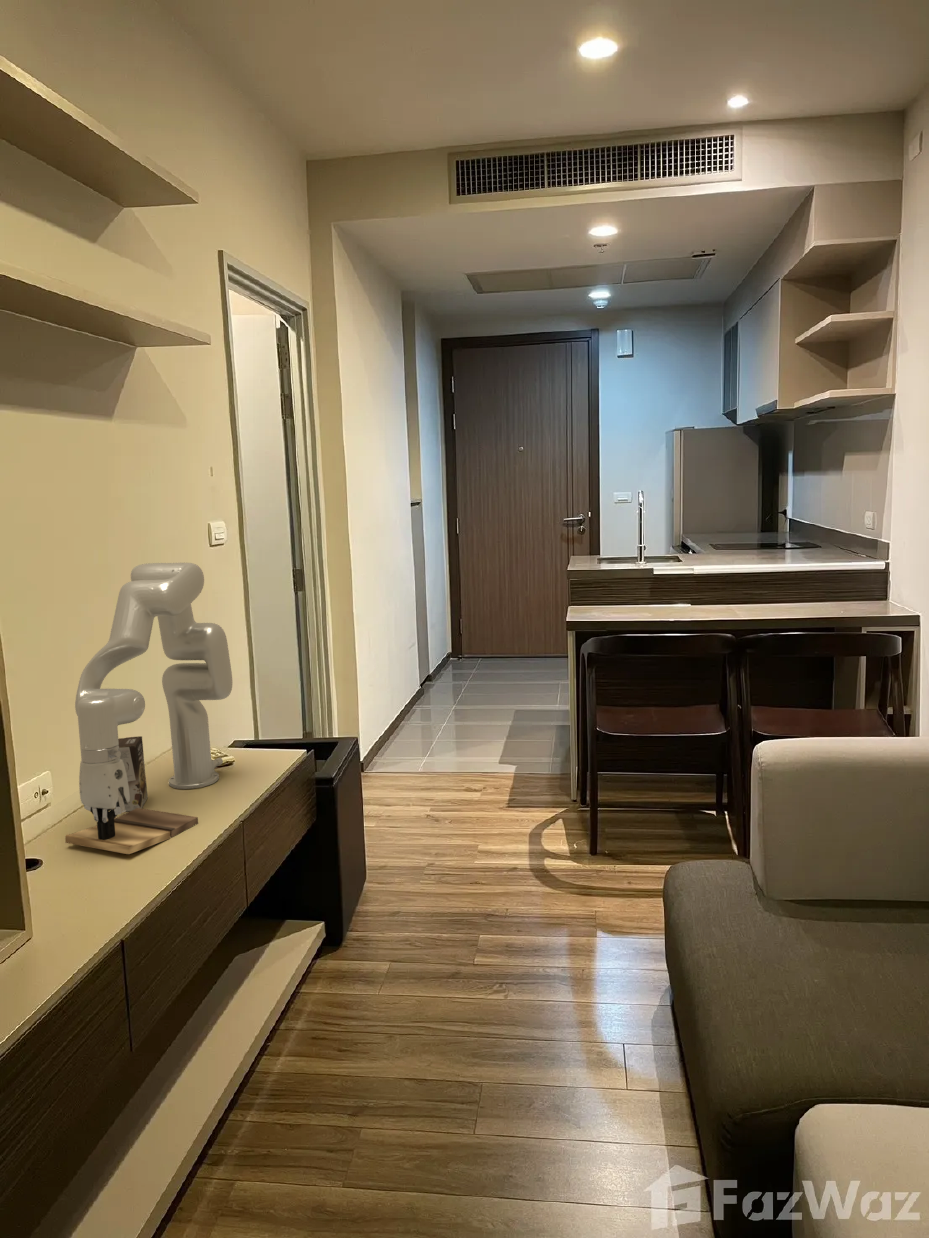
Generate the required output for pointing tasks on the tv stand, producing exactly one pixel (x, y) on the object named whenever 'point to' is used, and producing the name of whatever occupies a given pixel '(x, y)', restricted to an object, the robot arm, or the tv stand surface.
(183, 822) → the walnut board
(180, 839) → the tv stand surface
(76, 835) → the oak plank
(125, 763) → the coffee box
